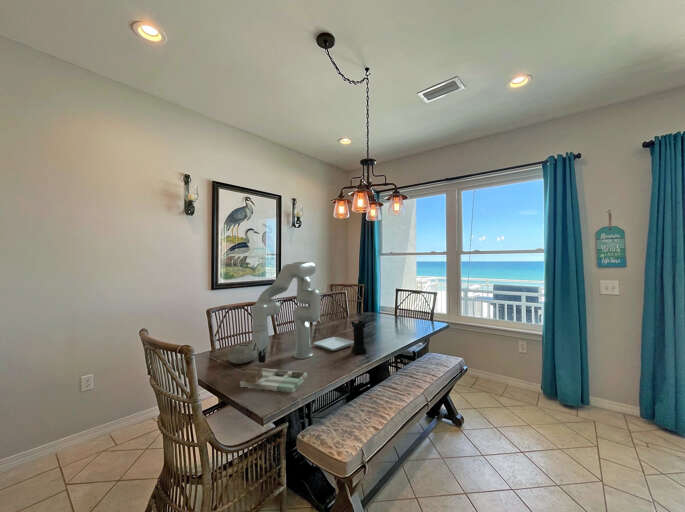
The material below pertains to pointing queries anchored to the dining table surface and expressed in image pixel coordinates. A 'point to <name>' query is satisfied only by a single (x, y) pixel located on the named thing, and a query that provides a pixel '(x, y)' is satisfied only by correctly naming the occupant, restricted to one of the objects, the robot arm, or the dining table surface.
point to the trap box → (277, 380)
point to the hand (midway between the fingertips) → (262, 362)
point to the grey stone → (241, 354)
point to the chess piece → (358, 338)
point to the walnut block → (253, 374)
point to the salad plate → (334, 343)
